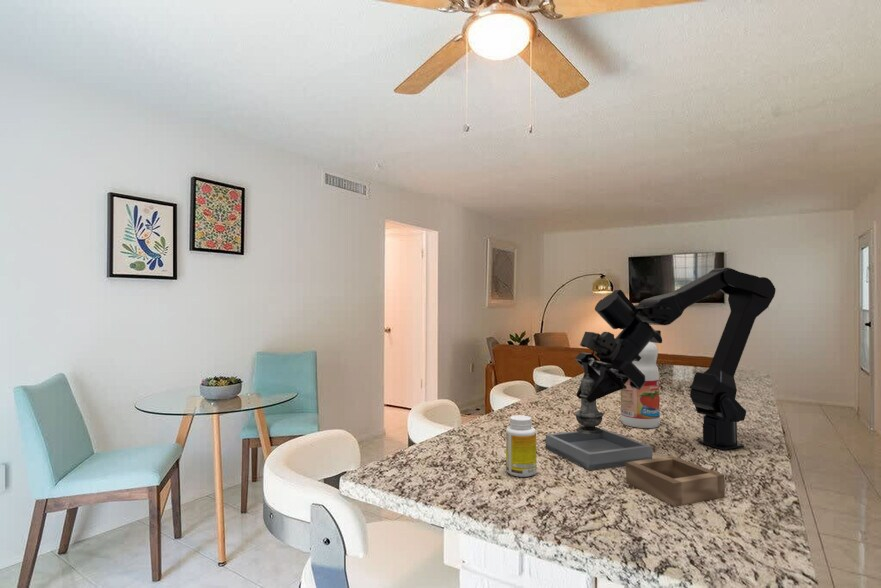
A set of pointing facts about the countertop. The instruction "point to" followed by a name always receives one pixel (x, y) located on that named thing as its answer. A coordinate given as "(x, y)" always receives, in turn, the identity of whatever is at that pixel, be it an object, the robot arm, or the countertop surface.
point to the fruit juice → (643, 393)
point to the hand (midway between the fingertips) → (582, 399)
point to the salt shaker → (588, 410)
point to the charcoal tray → (597, 449)
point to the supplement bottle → (521, 447)
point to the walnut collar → (675, 480)
